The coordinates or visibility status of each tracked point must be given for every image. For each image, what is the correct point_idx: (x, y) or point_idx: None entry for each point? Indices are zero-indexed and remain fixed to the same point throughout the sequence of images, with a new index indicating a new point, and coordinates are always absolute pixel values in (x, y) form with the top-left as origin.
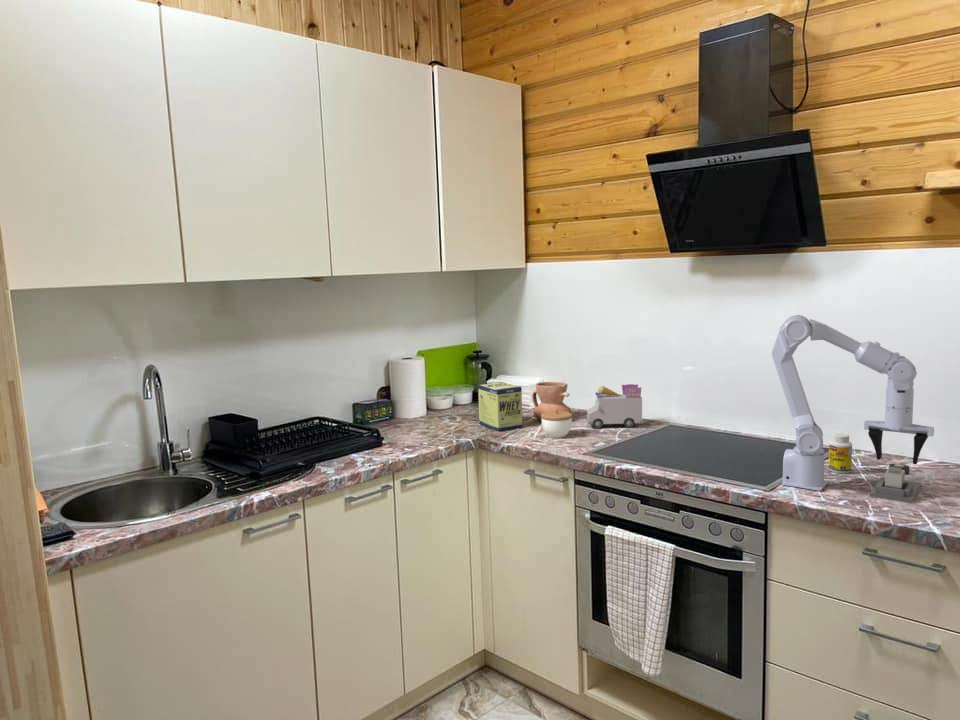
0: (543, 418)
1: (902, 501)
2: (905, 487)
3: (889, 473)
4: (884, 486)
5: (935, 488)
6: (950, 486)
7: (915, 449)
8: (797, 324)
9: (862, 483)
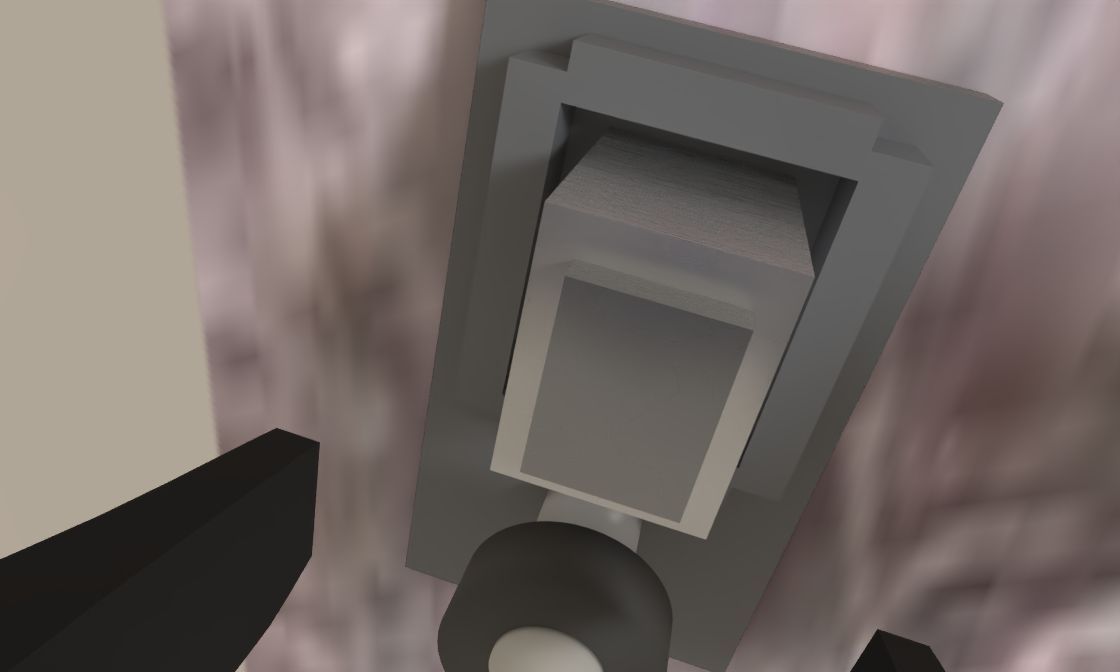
0: None
1: (612, 2)
2: None
3: (743, 256)
4: None
5: (324, 513)
6: None
7: (1, 636)
8: None
9: (927, 559)
